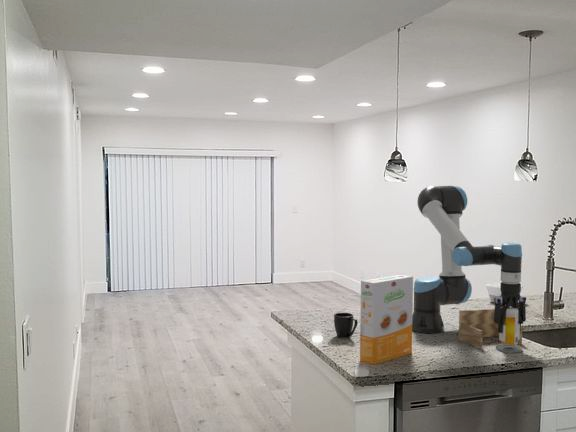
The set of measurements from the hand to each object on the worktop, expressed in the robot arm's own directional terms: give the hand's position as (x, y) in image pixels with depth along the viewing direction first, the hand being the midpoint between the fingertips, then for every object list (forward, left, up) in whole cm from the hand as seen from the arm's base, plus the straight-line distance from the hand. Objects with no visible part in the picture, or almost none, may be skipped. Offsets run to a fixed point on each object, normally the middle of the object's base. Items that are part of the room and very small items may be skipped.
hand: (509, 339), depth 231 cm
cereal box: (-51, +6, -4) cm, 52 cm away
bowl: (+57, +76, -4) cm, 95 cm away
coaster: (0, 0, -4) cm, 4 cm away
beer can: (0, 0, -2) cm, 2 cm away
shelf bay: (0, +12, -4) cm, 13 cm away
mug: (-55, +35, -4) cm, 65 cm away
